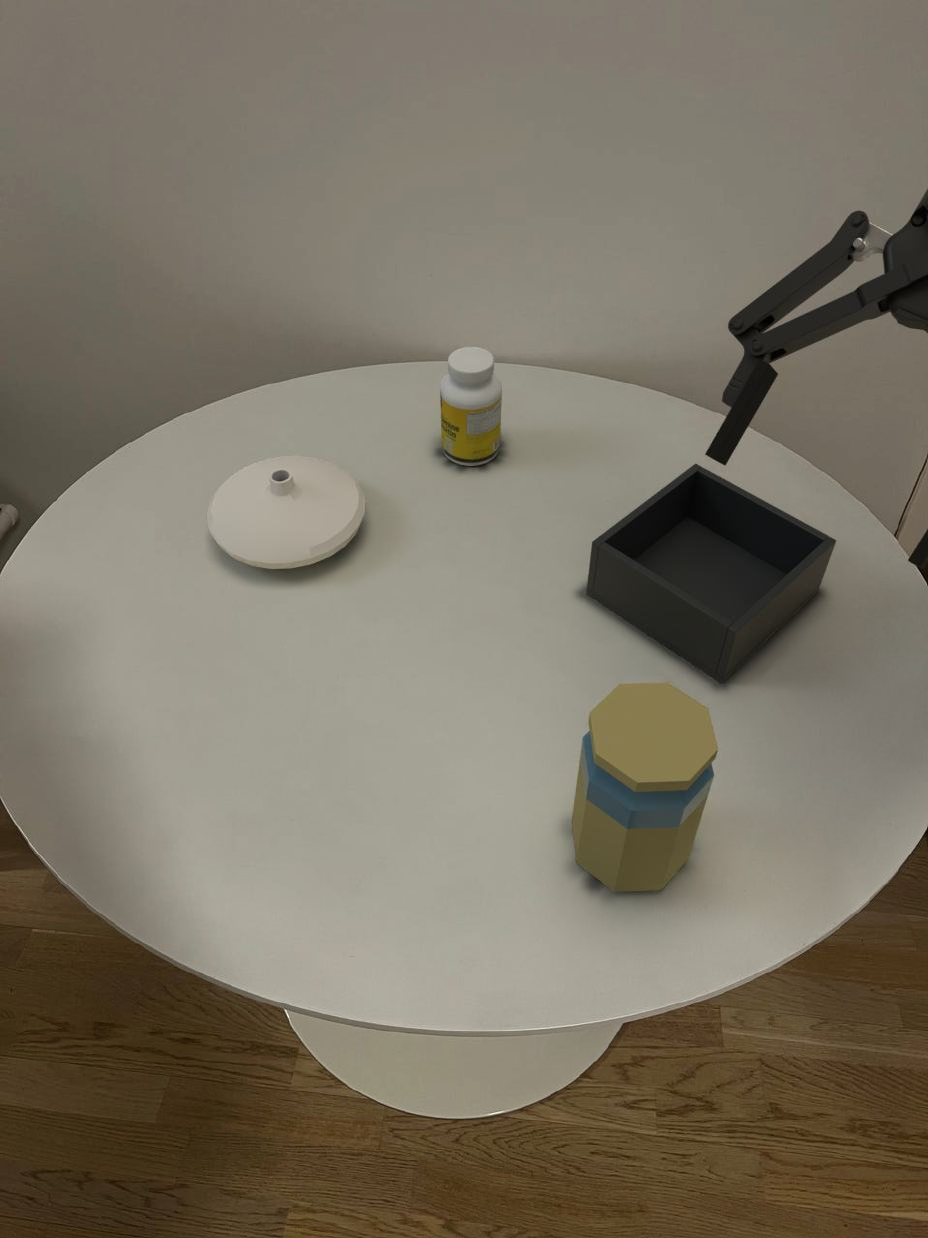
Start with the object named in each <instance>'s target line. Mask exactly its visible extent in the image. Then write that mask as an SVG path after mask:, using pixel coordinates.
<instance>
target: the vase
mask: <svg viewBox="0 0 928 1238" xmlns="http://www.w3.org/2000/svg"><path fill="white" fill-rule="evenodd" d="M365 513H366V497H365V493H364V490H363V488H362V485H361V484H360V483H359V482H358V481H357V479H356V478H355V477H354V476H353V475H352V474H351V473H349V472H348V471H346V470H345V469H343V468H341V467H340V466H338V465H337V464H335V463H333V462H330V461H327V460H324V459H321V458H318V457H312V456H305V455H282V456H281V455H280V456H276V457H270V458H266V459H263V460H260V461H257V462H254V463H251V464H249V465H247V466H245V467H243V468H241V469H240V470H238V471H236V472H235V473H233V474H232V475H231V476H229V477H228V478H227V479H226V480H225V481H223V483H221V485H220V486H219V487H218V488H217V489H216V491H215V493H214V494H213V496H212V497H211V499H210V501H209V503H208V506H207V513H206V515H205V516H206V517H205V519H206V523H207V528H208V531H209V533H210V534H211V536H212V537H213V539H214V540H215V542H216V543H217V545H218V546H219V547H220V548H221V549H222V550H223V551H224V552H225V553H226V554H228V555H229V556H230V557H231V558H233V559H234V560H236V561H239V562H241V563H244V564H246V565H249V566H251V567H257V568H264V569H269V570H279V569H280V570H281V569H283V570H284V569H294V568H295V569H296V568H300V567H305V566H309V565H313V564H315V563H318V562H320V561H323V560H326V559H327V558H330V557H332V556H333V555H335V554H336V553H338V552H339V551H340V550H342V549H343V548H345V547H346V546H347V545H348V544H349V543H350V541H352V539H353V538H354V537H355V536H356V535H357V533H358V531H359V529H360V527H361V524H362V522H363V519H364V516H365Z"/></svg>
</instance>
